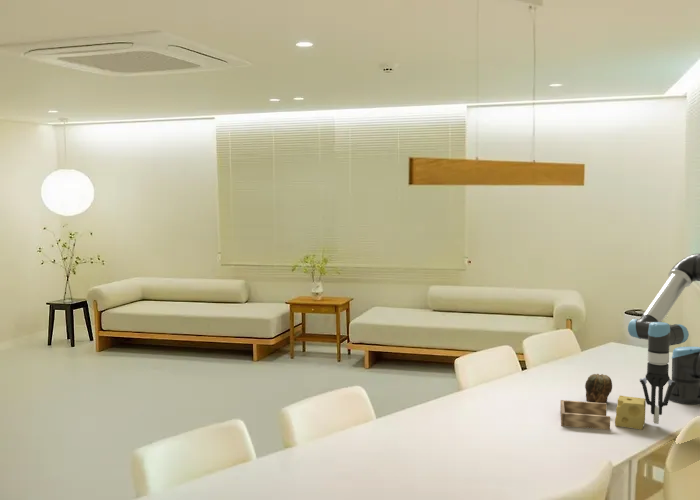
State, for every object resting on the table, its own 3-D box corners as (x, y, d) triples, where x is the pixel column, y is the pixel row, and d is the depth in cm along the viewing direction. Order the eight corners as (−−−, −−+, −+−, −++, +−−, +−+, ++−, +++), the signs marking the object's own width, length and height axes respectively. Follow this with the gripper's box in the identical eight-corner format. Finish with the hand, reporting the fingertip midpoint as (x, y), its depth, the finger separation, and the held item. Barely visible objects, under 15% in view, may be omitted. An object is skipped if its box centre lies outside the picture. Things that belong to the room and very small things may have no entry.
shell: (607, 406, 297) (608, 378, 296) (581, 402, 304) (582, 374, 303) (615, 400, 306) (615, 373, 305) (589, 396, 312) (590, 369, 312)
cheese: (614, 426, 272) (615, 401, 271) (618, 418, 282) (618, 394, 281) (643, 430, 267) (644, 404, 266) (646, 422, 277) (647, 397, 276)
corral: (606, 415, 285) (606, 403, 285) (609, 429, 268) (610, 417, 267) (560, 411, 290) (560, 399, 290) (561, 425, 273) (561, 413, 272)
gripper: (674, 361, 272) (672, 421, 274) (638, 359, 275) (636, 418, 277) (678, 366, 265) (676, 427, 266) (641, 363, 268) (639, 424, 270)
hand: (656, 422), depth 272 cm, fingers closed
